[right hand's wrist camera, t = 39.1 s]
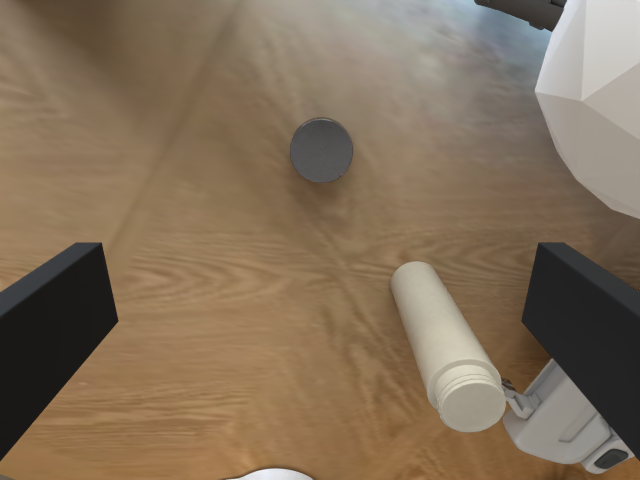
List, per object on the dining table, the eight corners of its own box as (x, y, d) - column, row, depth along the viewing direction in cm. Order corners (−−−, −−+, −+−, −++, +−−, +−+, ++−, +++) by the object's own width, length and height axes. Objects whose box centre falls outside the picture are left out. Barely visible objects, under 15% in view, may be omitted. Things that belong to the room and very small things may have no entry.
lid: (332, 188, 41) (332, 193, 39) (281, 159, 40) (279, 163, 38) (362, 137, 39) (364, 139, 37) (309, 105, 38) (309, 106, 36)
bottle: (415, 251, 44) (478, 362, 26) (449, 281, 45) (529, 406, 28) (380, 284, 45) (417, 410, 28) (413, 312, 47) (468, 449, 29)
